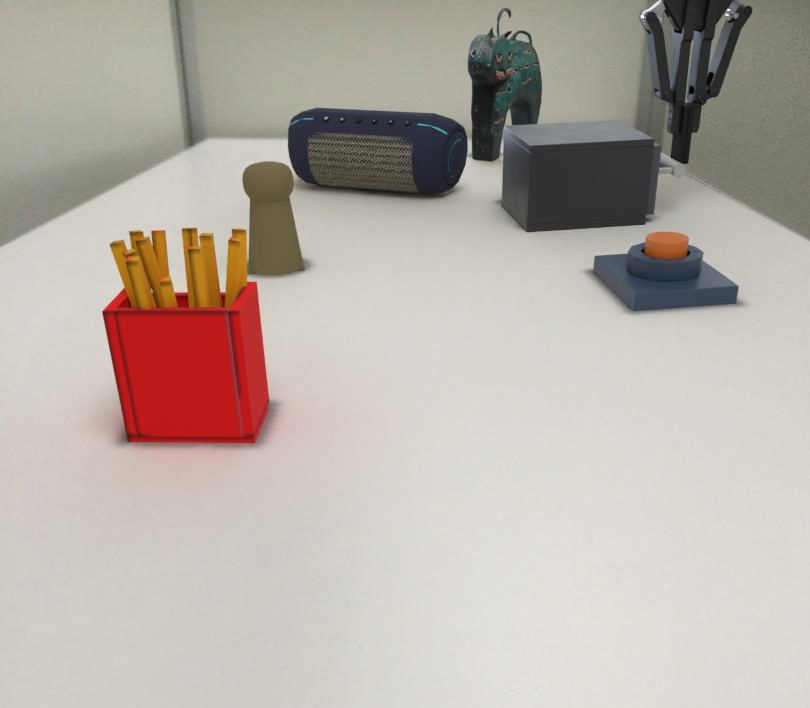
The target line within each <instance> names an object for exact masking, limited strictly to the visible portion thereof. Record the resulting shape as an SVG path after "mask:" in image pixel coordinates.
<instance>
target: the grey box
mask: <svg viewBox="0 0 810 708" xmlns="http://www.w3.org/2000/svg"><path fill="white" fill-rule="evenodd" d="M654 142H656V140H655V138H654V137H651V136H650V135H648V134H646V133H644V132H642V131H640V130H639V129H637V128H635V127H632V126H630V125H628V124H626V123H625V122H622V121H621V120H618V119H611V120H610V119H609V120H608V119H607V120H591V121H590V120H589V121H588V120H587V121H570V122H552V123H550V122H549V123H537V124H530V125H512V124H511V125H504V128H503V147H502V149H503V151H502V180H501V181H502V183H501V207H502V208H503V209H504V210H505V211H506V212H507V213H508V214H509V215H510V216H511V217H512V218H513V219H514V220H515V221H516V222H517V224H519V226H520V227H521V228H522V229H523V230H524V231H525V232H526V233H529V232H531V233H532V232H547V231H563V230H577V229H592V228H593V229H595V228H607V227H608V228H609V227H624V226H639V225H640V226H641V225H646V221H647V215H646V212H647V203H648V194H649V185H650V176H651V167H652V158H653V149H654Z"/></svg>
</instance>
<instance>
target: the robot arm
mask: <svg viewBox="0 0 810 708" xmlns="http://www.w3.org/2000/svg"><path fill="white" fill-rule="evenodd" d="M664 13H665V16H666V17H667V20H668V21H669V23H670V25H671V27H672V29H671V39H672V48H671V57H670V69H669V63H668V57H667V49H666V47H667V46H666V40H665V32H664V29H663V26H662V24H663V23H664V21H665V17H664ZM752 14H753V7H752V6H751V5H749V4H748V5H747V4H744V3H743V2H742V1H741V0H657V1H656V2H655V3H654V4H653V5H652V6H651V7H649V8H648V9H642V10H640V11H639V12H638V20H639V22H640V24H641V26H642V28H643V29H644V31H645V36H646V44H647V45H646V46H647V52H648V59H649V66H650V75H651V82H652V89H653V95H654V97H655V98H657V99H659V100H661V101H664V102H666V103H667V105H668V108H667V109H668V110H667V117H666V132H667V133H668V134H670V135H672V137H671V146H670V156H669V157H670V158H672V159H674V160H676V161H678V162H680V163H682V164H683V165H688V164H689V161H690V160H689V159H690V152H691V144H692V143H691V142H692V135H693V134H698V131H699V130H700V125H701V116H702V108H703V106H705V105H706V104H707V101H708V100H710V99H712V98H713V99H715V98H718V96H719V95H720V93H721V91H722V90H721V89H722V87H723V84H724V81H725V78H726V76H727V72H728V70H729V67H730V64H731V61H732V57H733V55H734V53H735V49H736V46H737V44H738V43H737V42H738V40H739V38H740V34H741V31H742V29H743V28H744V26H745V25H746V23H747V21H748V20H749V19H750V17H751V16H752ZM724 15H725V21H724V23H723V25H722V28H721V30H720V33H719V37H718V38H717V42H716V45H715V48H714V52H713V54H712V56H711V50H712V43H713V40H714V38H715V33H716V26H717V24H718V23H719V21H720V20H721V19H722V17H723V16H724ZM691 45H692V46H691ZM691 47H692V48H691ZM691 49H692V50H691ZM690 57H691V58H690ZM710 59H711V60H710ZM686 100H687V102H686Z"/></svg>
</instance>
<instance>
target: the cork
mask: <svg viewBox="0 0 810 708" xmlns="http://www.w3.org/2000/svg"><path fill="white" fill-rule="evenodd" d="M294 178H295V177H294V175H293V171H292V169H291V167H290V166H289V165H287V164H286V163H284V162H279V161H274V160H273V161H272V160H271V161H270V160H268V161H266V160H265V161H259V162H255V163H252V164H249V165H248V166H246V167H245V168H244V170H243V172H242V178H241V181H242V188H243V190H244V192H245V193H244V194H245V195H246V196H247V197H248V198H249V219H248V221H249V223H248V267H247V274H248V275H249V276H250V275H251V276H252V275H259V276H283V275H289V274H293V273H297V272H305V271H306V269H305V265H304V259H303V255H302V250H301V245H300V239H299V235H298V231H297V226H296V222H295V221H296V220H295V215H294V211H293V207H292V203H291V202H292V201H291V198H290V196H291V194H292V193H293V192H294V186H295V179H294Z"/></svg>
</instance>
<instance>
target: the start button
mask: <svg viewBox="0 0 810 708" xmlns="http://www.w3.org/2000/svg"><path fill="white" fill-rule="evenodd" d="M644 242H645V250H644V254H645V255H647V256H650V257H654V258H664V259H675V258H683V257H686V256H687V250H688V245H689V242H690V237H689V236H688V235H686V234H684V233H680V232H676V231H653V232H650V233H647V234H646V236H645V241H644Z"/></svg>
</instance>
